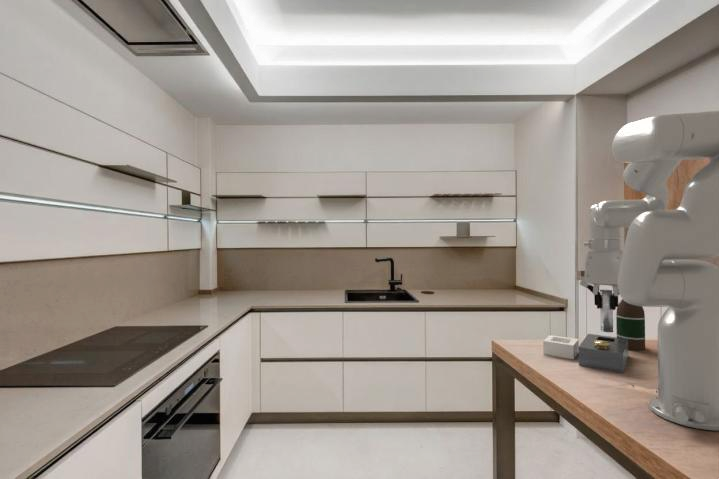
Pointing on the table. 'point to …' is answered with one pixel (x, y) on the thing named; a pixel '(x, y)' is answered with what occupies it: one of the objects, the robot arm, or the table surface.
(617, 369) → the socket block
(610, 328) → the silver rounded peg
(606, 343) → the key
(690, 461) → the table surface
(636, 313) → the beer bottle
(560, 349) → the holder
